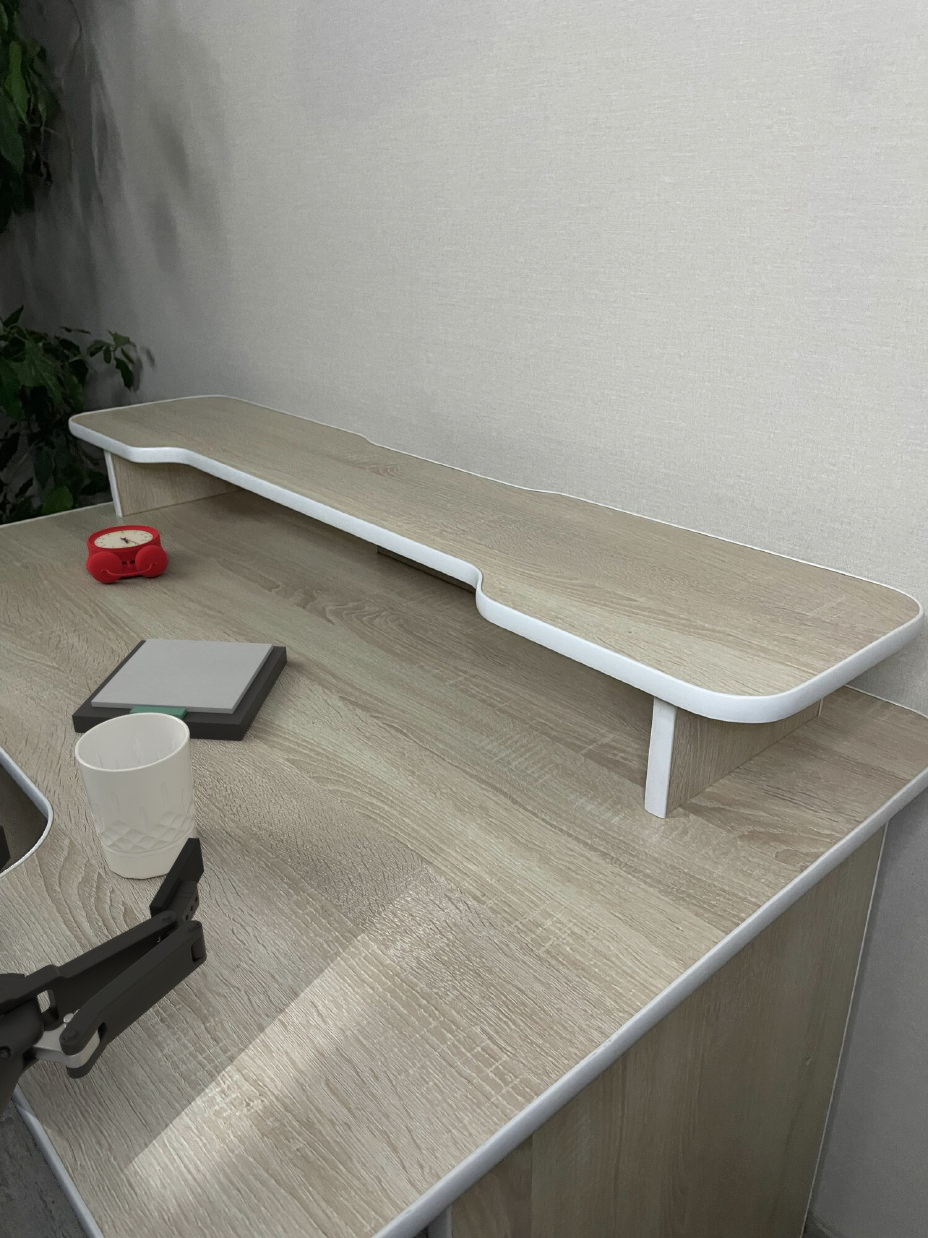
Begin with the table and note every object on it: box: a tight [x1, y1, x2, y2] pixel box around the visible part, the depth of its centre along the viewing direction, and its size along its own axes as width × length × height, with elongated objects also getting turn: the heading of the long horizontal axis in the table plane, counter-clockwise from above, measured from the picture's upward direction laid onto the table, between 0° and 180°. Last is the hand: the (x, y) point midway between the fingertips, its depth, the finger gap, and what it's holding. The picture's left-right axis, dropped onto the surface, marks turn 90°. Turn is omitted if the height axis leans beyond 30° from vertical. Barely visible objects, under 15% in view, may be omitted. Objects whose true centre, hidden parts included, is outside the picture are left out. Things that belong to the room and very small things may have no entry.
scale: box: [71, 638, 288, 742], centre depth 93 cm, size 16×16×2 cm
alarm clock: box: [85, 524, 169, 584], centre depth 124 cm, size 10×6×15 cm
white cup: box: [74, 713, 198, 880], centre depth 70 cm, size 8×8×10 cm
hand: (98, 847), depth 63 cm, fingers open, 13 cm apart
